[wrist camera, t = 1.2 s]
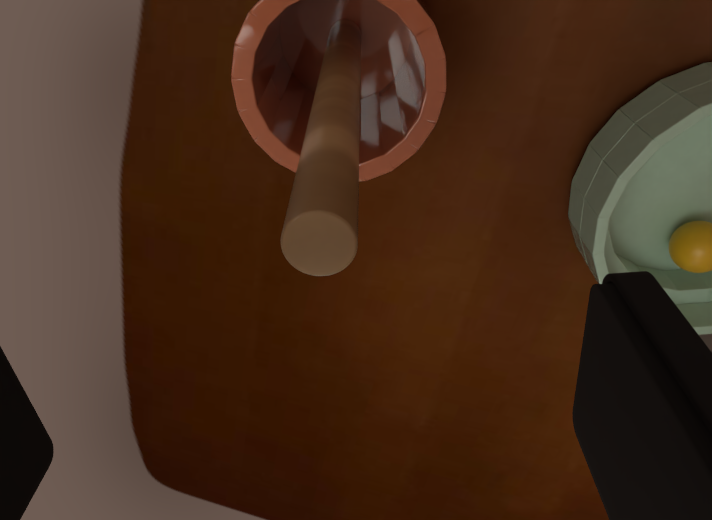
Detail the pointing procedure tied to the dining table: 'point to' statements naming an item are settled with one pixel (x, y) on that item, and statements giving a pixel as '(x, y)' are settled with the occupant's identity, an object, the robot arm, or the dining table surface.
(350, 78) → the stirring stick
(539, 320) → the dining table surface
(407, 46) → the utensil pot
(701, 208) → the bowl
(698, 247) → the ball
